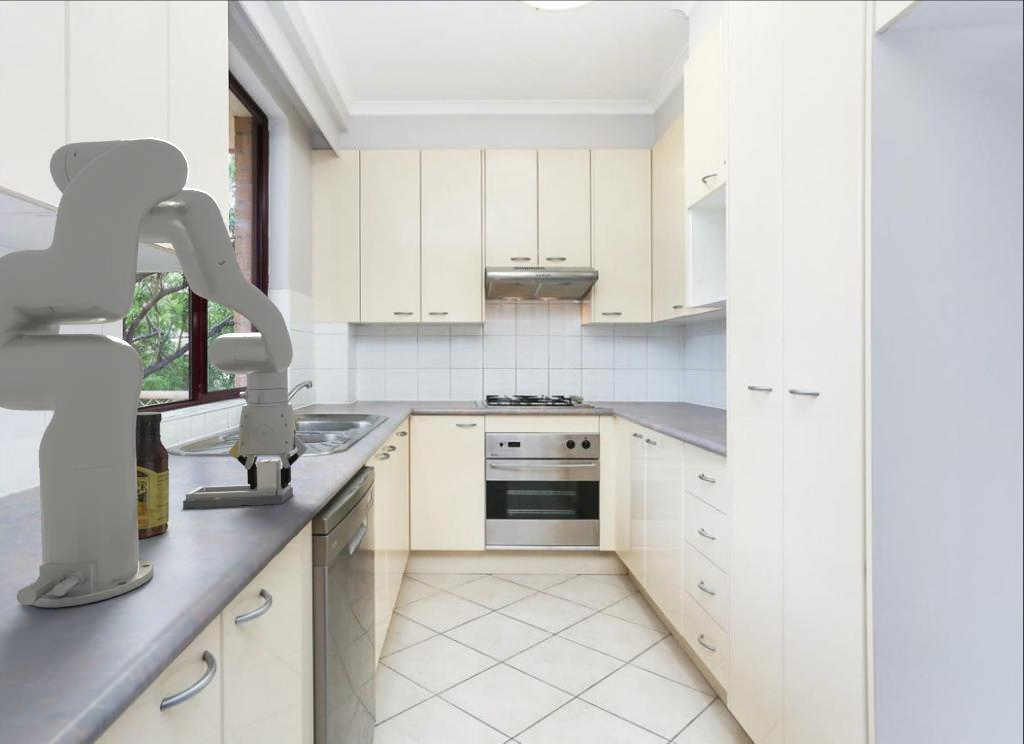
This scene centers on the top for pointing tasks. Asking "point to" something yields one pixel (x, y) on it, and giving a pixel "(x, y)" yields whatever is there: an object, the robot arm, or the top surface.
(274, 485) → the fader cap
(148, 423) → the sauce bottle
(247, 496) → the grey shallow tray
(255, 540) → the top surface
